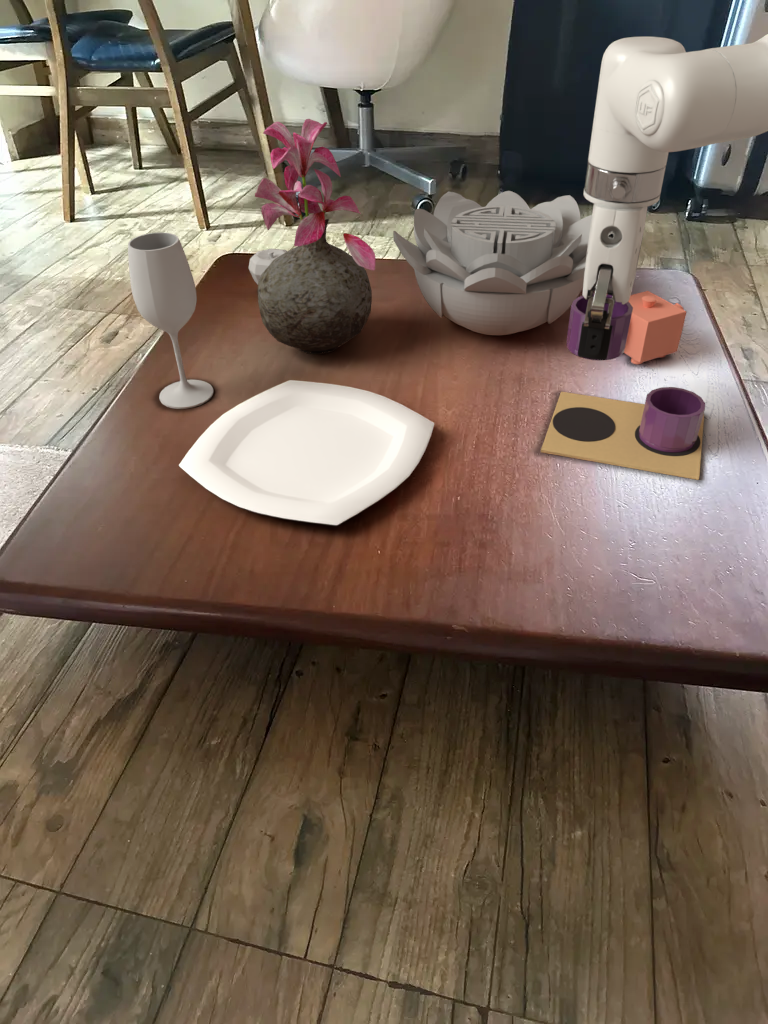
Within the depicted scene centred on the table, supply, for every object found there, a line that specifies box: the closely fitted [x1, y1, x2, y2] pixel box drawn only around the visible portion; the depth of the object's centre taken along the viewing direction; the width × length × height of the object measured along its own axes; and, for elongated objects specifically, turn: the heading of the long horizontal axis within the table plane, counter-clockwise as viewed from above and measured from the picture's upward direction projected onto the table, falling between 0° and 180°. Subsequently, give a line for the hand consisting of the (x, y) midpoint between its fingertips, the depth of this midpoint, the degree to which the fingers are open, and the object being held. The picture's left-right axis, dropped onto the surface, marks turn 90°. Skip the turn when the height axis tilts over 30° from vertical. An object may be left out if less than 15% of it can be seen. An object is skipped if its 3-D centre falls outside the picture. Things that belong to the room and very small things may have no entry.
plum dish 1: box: [566, 293, 633, 361], centre depth 89 cm, size 7×7×5 cm
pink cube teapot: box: [623, 290, 687, 365], centre depth 109 cm, size 8×12×8 cm, turn 116°
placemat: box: [540, 391, 705, 481], centre depth 96 cm, size 18×14×1 cm
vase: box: [254, 118, 377, 355], centre depth 107 cm, size 17×17×30 cm
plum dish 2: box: [639, 386, 706, 453], centre depth 93 cm, size 7×7×5 cm
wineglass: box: [127, 231, 214, 410], centre depth 99 cm, size 8×8×21 cm
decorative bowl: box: [392, 190, 592, 336], centre depth 115 cm, size 30×30×15 cm
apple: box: [248, 248, 288, 286], centre depth 129 cm, size 8×8×7 cm
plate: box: [178, 379, 435, 527], centre depth 93 cm, size 27×27×2 cm
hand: (596, 341), depth 90 cm, fingers closed on plum dish 1, 6 cm apart
